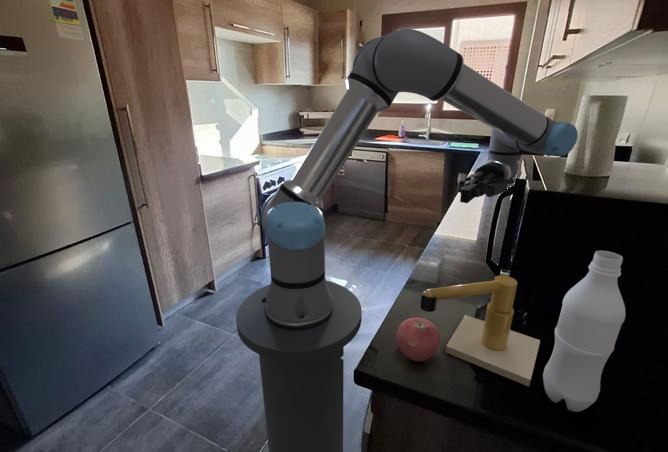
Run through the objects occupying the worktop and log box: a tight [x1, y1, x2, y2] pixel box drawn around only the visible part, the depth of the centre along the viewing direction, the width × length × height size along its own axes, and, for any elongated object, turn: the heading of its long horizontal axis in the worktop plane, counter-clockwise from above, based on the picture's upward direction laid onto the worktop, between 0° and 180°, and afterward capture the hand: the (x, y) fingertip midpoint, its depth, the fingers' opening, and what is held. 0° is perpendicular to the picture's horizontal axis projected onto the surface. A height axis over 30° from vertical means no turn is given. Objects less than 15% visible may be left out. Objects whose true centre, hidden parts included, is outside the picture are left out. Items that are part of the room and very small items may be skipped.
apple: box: [396, 317, 441, 362], centre depth 62 cm, size 7×7×8 cm
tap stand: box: [444, 302, 541, 388], centre depth 63 cm, size 14×12×9 cm
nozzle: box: [419, 275, 518, 313], centre depth 59 cm, size 18×4×6 cm, turn 103°
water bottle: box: [542, 250, 626, 413], centre depth 50 cm, size 7×7×25 cm
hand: (464, 196), depth 70 cm, fingers closed
